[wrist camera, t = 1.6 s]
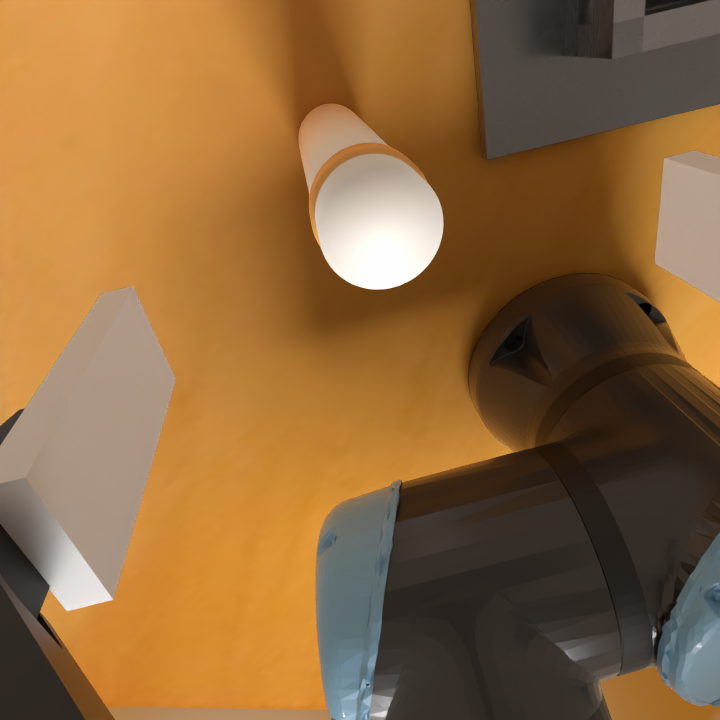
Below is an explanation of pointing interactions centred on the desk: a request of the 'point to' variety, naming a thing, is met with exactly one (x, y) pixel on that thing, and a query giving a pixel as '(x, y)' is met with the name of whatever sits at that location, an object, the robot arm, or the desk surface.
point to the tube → (366, 201)
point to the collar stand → (589, 66)
